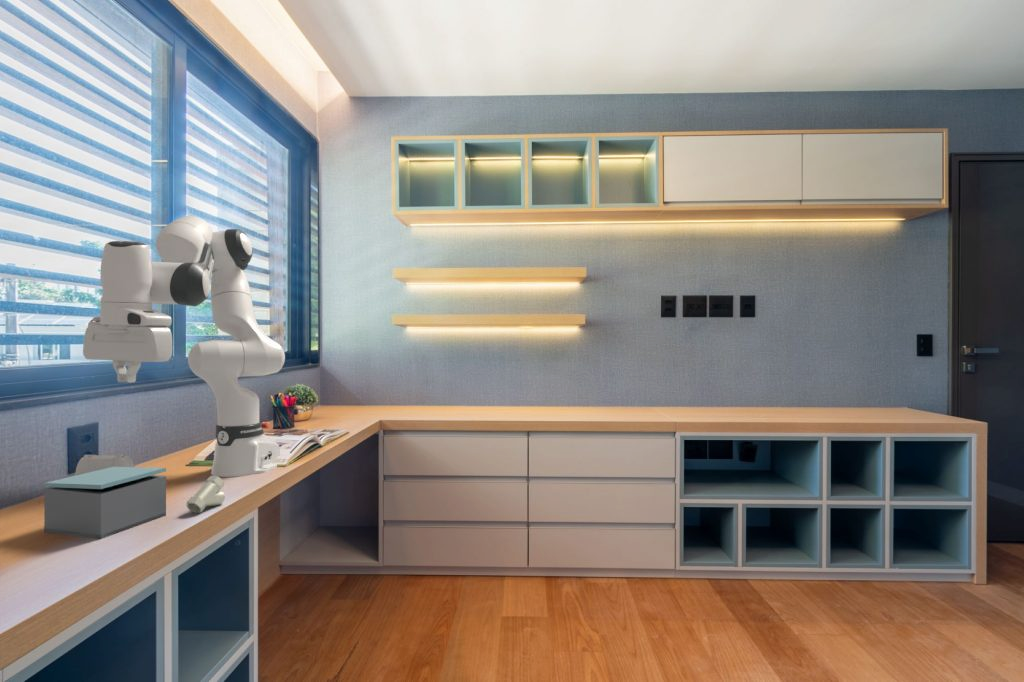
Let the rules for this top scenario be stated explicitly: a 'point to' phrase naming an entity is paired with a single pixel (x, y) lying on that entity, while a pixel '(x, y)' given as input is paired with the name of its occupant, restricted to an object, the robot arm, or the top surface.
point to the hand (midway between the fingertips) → (126, 382)
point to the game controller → (102, 462)
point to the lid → (105, 477)
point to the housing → (104, 507)
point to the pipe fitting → (207, 495)
